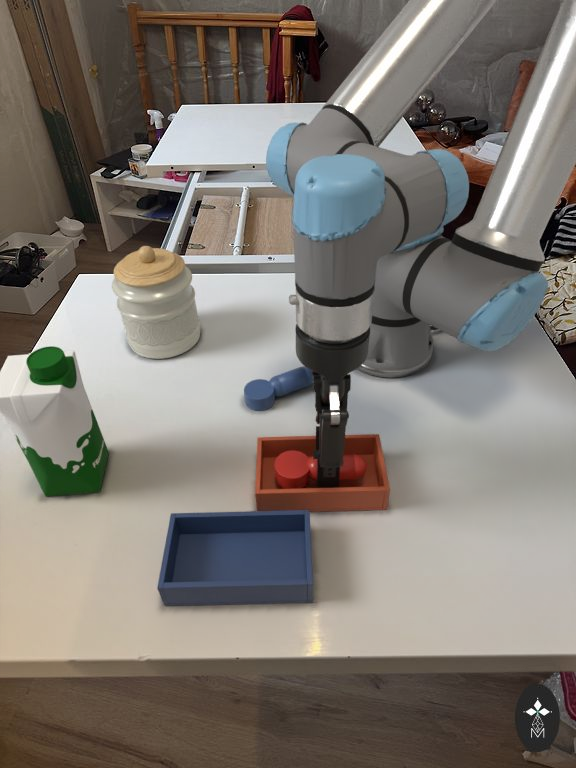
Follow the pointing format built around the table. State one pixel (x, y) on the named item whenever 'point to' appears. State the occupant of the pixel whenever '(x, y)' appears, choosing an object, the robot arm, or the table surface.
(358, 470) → the red disc-headed bar
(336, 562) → the table surface
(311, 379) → the blue toy rattle
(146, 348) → the jar
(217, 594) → the bin blue
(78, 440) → the milk carton
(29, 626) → the table surface
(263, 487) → the bin red
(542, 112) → the robot arm
